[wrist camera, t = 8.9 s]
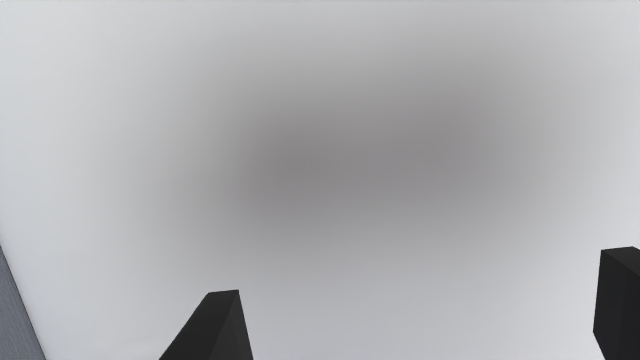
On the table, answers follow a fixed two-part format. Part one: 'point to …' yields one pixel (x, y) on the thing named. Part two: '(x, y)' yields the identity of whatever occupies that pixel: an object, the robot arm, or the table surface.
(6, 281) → the rail
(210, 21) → the table surface
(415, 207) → the table surface
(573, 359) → the table surface
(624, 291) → the robot arm
